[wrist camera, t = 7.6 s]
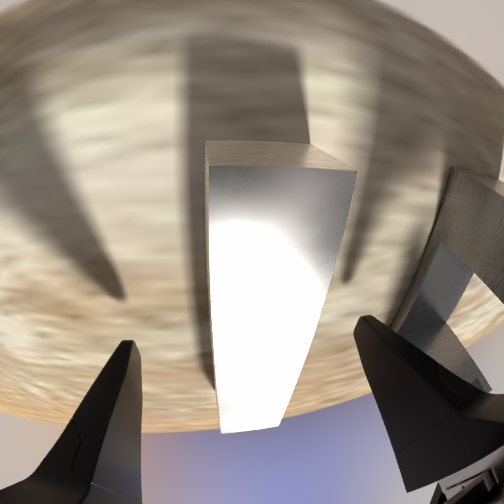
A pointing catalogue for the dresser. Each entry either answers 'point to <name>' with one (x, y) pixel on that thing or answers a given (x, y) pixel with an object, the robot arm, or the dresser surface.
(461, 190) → the standards
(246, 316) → the rail
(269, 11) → the dresser surface
